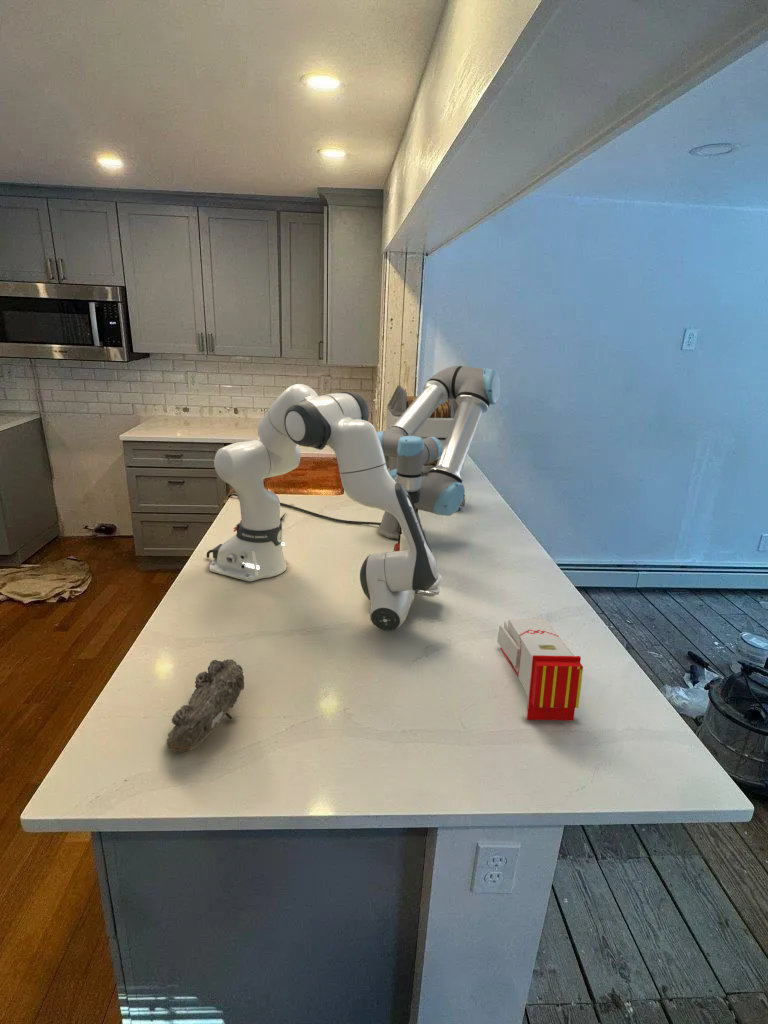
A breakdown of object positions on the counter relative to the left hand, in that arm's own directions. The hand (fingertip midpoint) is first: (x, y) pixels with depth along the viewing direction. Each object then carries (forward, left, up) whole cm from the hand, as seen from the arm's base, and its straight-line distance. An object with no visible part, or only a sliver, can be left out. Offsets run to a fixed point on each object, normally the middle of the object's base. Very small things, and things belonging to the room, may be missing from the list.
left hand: (408, 568), depth 160 cm
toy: (+34, -34, -6) cm, 48 cm away
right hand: (-4, +17, -5) cm, 18 cm away
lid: (-5, +17, -1) cm, 18 cm away
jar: (0, -1, -6) cm, 6 cm away
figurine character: (+5, +76, -6) cm, 76 cm away
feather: (-55, +41, -6) cm, 69 cm away
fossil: (-26, -64, -6) cm, 69 cm away
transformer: (-17, +120, -6) cm, 121 cm away
